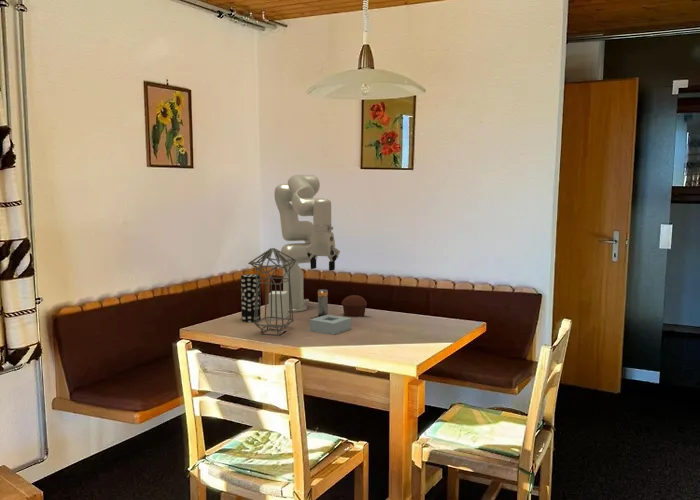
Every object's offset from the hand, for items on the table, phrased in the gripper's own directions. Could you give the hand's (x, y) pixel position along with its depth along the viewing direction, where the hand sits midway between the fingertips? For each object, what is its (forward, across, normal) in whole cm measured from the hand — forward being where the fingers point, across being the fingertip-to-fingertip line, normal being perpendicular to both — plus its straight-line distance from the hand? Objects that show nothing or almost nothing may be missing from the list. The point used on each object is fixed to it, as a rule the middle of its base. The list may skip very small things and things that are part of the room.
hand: (322, 269), depth 272 cm
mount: (+24, 0, 0) cm, 24 cm away
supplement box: (+24, +23, +2) cm, 34 cm away
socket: (+24, -10, +8) cm, 27 cm away
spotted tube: (+24, +33, +9) cm, 42 cm away
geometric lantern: (+25, +9, +21) cm, 34 cm away
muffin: (+25, -1, -22) cm, 33 cm away
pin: (+23, 0, 0) cm, 23 cm away
